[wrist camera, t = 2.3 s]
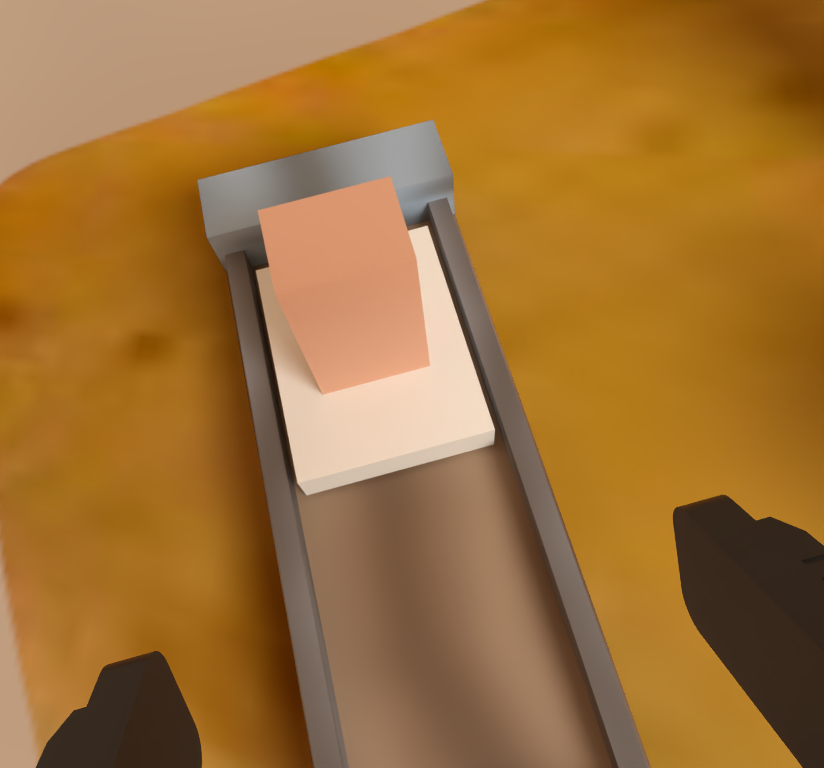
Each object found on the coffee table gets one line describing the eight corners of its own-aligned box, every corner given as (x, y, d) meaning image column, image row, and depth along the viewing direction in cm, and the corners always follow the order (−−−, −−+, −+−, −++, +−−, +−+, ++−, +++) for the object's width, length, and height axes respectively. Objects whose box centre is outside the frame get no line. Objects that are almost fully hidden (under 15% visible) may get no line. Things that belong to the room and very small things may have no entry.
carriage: (429, 247, 30) (414, 91, 22) (493, 444, 26) (501, 336, 19) (266, 290, 30) (194, 147, 22) (306, 495, 26) (237, 406, 18)
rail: (437, 184, 33) (433, 120, 30) (712, 969, 21) (762, 1024, 17) (227, 238, 33) (197, 180, 29) (377, 1070, 20) (355, 1148, 17)
